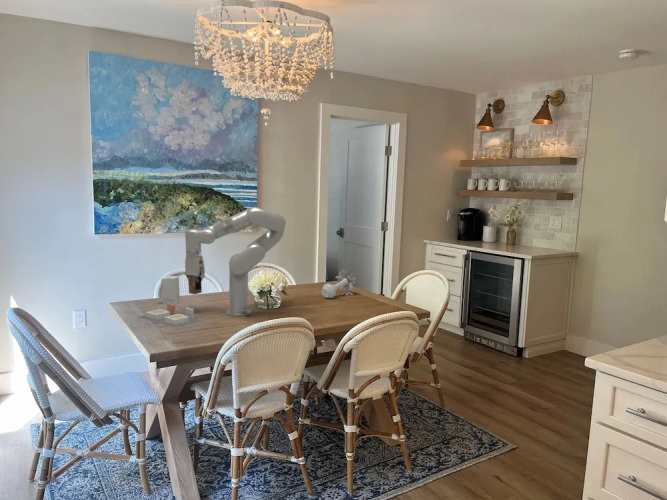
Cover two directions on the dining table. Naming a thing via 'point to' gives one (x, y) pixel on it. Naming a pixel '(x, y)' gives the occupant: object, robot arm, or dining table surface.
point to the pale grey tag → (190, 313)
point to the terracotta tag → (171, 308)
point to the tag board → (168, 318)
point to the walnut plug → (193, 285)
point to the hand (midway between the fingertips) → (195, 288)
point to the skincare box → (170, 289)
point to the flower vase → (339, 284)
